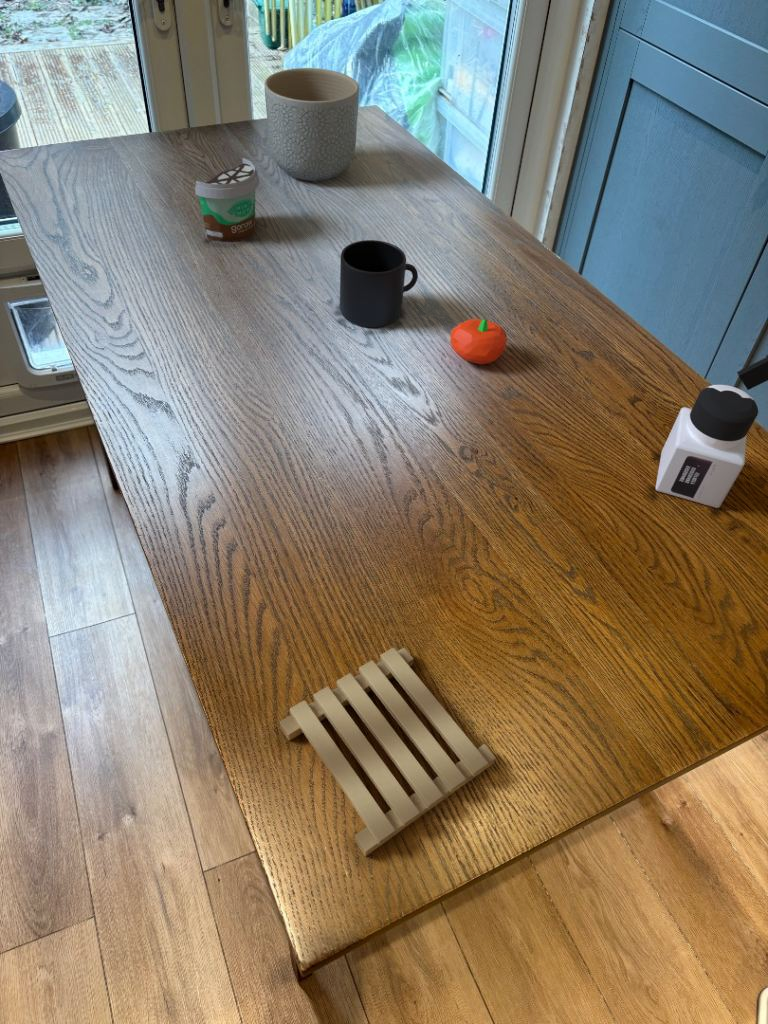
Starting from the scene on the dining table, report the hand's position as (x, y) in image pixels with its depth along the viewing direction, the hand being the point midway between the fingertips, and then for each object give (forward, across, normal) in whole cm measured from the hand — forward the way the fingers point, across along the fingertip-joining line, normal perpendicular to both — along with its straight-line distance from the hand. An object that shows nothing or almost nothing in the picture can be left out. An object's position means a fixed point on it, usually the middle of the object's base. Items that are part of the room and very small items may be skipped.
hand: (756, 418), depth 85 cm
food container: (+58, +50, +42) cm, 87 cm away
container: (+10, 0, -5) cm, 11 cm away
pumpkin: (+29, +21, +14) cm, 39 cm away
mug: (+40, +31, +24) cm, 56 cm away
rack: (+35, -39, +20) cm, 56 cm away
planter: (+52, +77, +36) cm, 100 cm away
